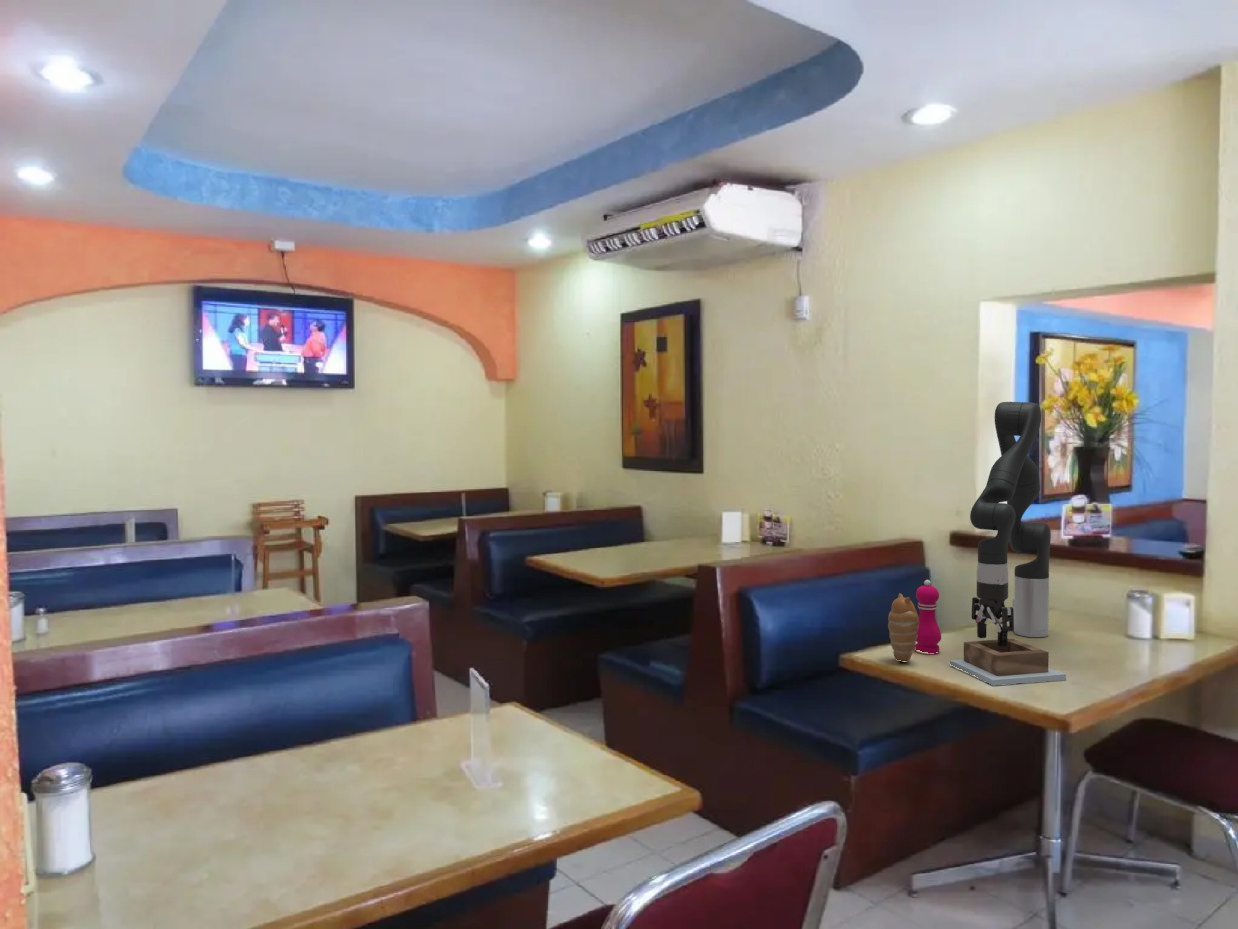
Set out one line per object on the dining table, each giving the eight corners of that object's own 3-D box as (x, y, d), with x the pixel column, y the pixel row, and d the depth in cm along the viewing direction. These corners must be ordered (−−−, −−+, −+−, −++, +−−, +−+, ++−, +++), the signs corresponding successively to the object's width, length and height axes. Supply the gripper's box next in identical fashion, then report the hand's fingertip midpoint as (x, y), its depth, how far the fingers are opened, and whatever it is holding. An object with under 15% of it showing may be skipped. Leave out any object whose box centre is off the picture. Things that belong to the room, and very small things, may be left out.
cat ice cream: (924, 666, 226) (925, 597, 225) (896, 667, 225) (896, 598, 224) (908, 657, 235) (908, 591, 234) (881, 658, 233) (881, 592, 232)
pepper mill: (920, 646, 245) (921, 576, 244) (945, 651, 240) (946, 579, 239) (908, 651, 240) (908, 580, 239) (933, 656, 235) (934, 583, 234)
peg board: (949, 665, 226) (949, 650, 226) (1017, 660, 230) (1018, 645, 230) (992, 686, 208) (993, 669, 208) (1065, 680, 212) (1066, 664, 212)
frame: (963, 661, 225) (963, 641, 224) (1011, 657, 228) (1011, 638, 227) (997, 676, 211) (997, 656, 211) (1048, 672, 214) (1048, 652, 214)
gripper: (963, 575, 230) (962, 636, 231) (996, 586, 216) (996, 650, 217) (988, 574, 231) (987, 634, 232) (1023, 584, 217) (1022, 648, 218)
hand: (991, 642), depth 224 cm, fingers open, 8 cm apart
